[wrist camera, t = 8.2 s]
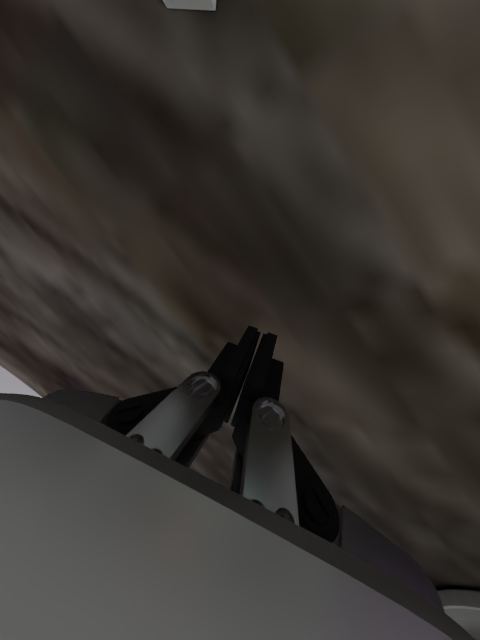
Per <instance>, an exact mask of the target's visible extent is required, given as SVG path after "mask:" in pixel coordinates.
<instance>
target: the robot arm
mask: <svg viewBox="0 0 480 640" xmlns="http://www.w3.org/2000/svg"><path fill="white" fill-rule="evenodd" d="M257 330H258V329H257V328H254V327H251V326H248V328H247V329H246V331H245V333H244V335H243V336H242V338H241V340H240V342H239V343H238V345H235V344H232V343H230V342H228V343H227V344H226V345H225V347H224V348H223V350H222V351H221V353H220V354H219V356H218V357H217V359H216V360H215V362H214V363H213V364H212V366H211V367H210V369H209V370H208V372H205V371H201V372H196V373H193V374H192V375H190V376H189V377H188V378H187V379H186V380H184V381H183V382H182V383H181V384H180V385H179V386H178V387H174V388H170V389H166V390H162V391H158V392H153V393H149V394H145V395H141V396H137V397H133V398H129V399H126V400H123V401H122V400H119V397H115V396H110V395H104V394H99V393H94V392H89V391H84V390H78V389H73V388H65V389H60V390H56V391H54V392H52V393H49V394H48V395H46V396H45V397H43V398H40V397H35V396H30V395H22V394H6V393H5V394H4V393H0V640H480V591H473V590H464V589H445V590H438V591H436V589H435V587H434V585H433V583H432V581H431V580H430V578H429V577H428V575H427V574H426V573H425V571H424V570H423V569H422V567H421V566H420V565H419V564H418V563H417V562H416V561H415V560H414V559H413V558H412V557H411V556H410V555H408V554H407V553H406V552H405V551H403V550H402V549H401V548H399V547H398V546H397V545H395V544H394V543H393V542H391V541H390V540H389V539H387V538H386V537H385V536H383V535H382V534H381V533H379V532H378V531H377V530H376V529H374V528H373V527H372V526H370V525H369V524H368V523H366V522H365V521H364V520H362V519H361V518H360V517H358V516H357V515H356V514H354V513H353V512H352V511H350V510H349V509H348V508H347V507H345V506H344V505H343V506H342V507H340V506H339V505H338V504H336V503H335V502H334V500H333V498H332V496H331V494H330V493H329V491H328V490H327V488H326V487H325V485H324V484H323V482H322V481H321V479H320V477H319V476H318V474H317V473H316V471H315V470H314V468H313V467H312V465H311V464H310V462H309V461H308V459H307V458H306V456H305V455H304V453H303V452H302V450H301V449H300V447H299V446H298V444H297V443H296V441H295V440H294V438H293V437H292V435H291V430H290V419H289V415H288V412H287V410H286V409H285V407H284V406H283V405H282V404H281V403H280V402H278V401H279V394H280V387H281V379H282V372H283V365H284V363H283V362H281V361H278V360H275V359H273V358H272V355H273V351H274V347H275V343H276V339H277V335H274V334H271V333H269V332H268V334H264V333H263V336H262V339H261V341H260V344H259V346H258V349H257V352H256V354H255V357H254V360H253V362H252V365H251V367H250V364H251V360H252V357H253V354H254V351H255V348H256V345H257V342H258V339H259V336H260V333H261V332H258V331H257ZM249 367H250V370H249V373H248V375H247V372H248V369H249ZM246 375H247V378H246V381H245V383H244V386H243V389H242V392H241V395H240V399H239V402H238V405H237V408H236V411H235V414H234V417H233V420H232V423H231V425H232V426H234V427H235V429H234V432H233V435H232V438H233V440H234V443H235V445H236V451H235V456H234V462H233V469H232V475H231V481H230V487H229V489H228V488H226V487H224V486H222V485H220V484H218V483H216V482H214V481H212V480H210V479H208V478H206V477H205V476H203V475H201V474H199V473H197V472H195V471H193V470H191V469H189V467H190V465H191V464H192V462H193V460H194V459H195V457H196V456H197V454H198V453H199V451H200V449H201V448H202V446H203V445H204V443H205V442H206V440H207V439H208V437H209V434H210V433H213V432H215V431H218V430H219V428H221V426H222V424H223V422H225V423H228V421H229V418H230V416H231V413H232V411H233V408H234V406H235V403H236V400H237V398H238V395H239V393H240V390H241V388H242V385H243V382H244V380H245V377H246Z"/></svg>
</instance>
